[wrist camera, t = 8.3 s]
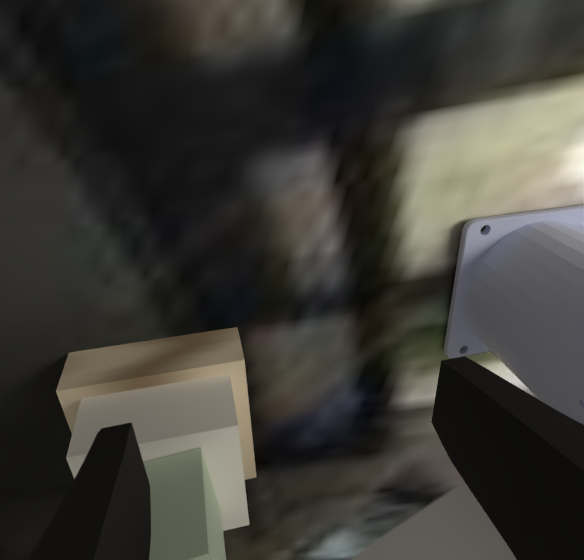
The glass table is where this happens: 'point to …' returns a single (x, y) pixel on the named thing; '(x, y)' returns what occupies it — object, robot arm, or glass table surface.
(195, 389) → the slab top
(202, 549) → the block
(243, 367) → the slab bottom
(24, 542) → the glass table surface
